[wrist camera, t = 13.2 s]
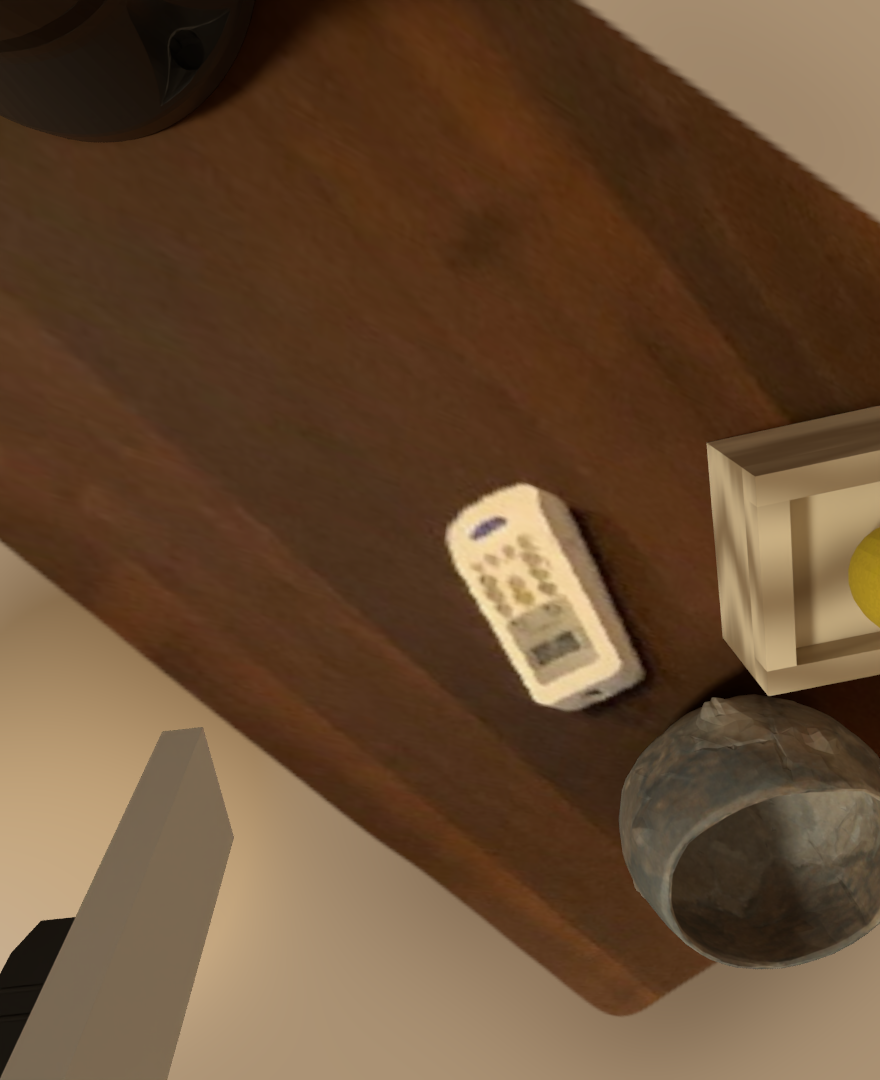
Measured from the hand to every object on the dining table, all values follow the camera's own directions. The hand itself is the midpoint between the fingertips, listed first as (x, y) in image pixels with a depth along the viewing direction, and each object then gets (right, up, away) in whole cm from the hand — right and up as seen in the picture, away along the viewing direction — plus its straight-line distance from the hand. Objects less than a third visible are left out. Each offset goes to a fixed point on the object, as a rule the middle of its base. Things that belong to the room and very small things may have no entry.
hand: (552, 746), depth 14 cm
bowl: (+15, -10, +33) cm, 38 cm away
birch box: (+19, +5, +28) cm, 34 cm away
